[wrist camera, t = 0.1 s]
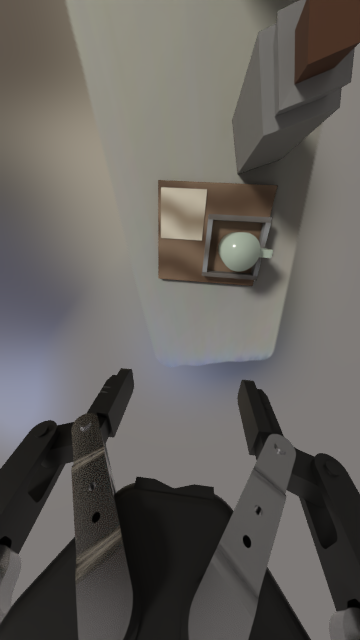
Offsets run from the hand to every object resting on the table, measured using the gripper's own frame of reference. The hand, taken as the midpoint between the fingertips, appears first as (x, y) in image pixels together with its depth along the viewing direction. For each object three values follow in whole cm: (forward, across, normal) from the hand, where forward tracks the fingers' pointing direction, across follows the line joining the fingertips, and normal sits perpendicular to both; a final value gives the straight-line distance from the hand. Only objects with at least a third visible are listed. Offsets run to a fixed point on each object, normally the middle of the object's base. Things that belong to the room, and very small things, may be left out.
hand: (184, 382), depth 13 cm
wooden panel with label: (+29, -2, -9) cm, 30 cm away
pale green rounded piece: (+28, -8, -7) cm, 30 cm away
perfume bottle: (+29, -8, -23) cm, 38 cm away
